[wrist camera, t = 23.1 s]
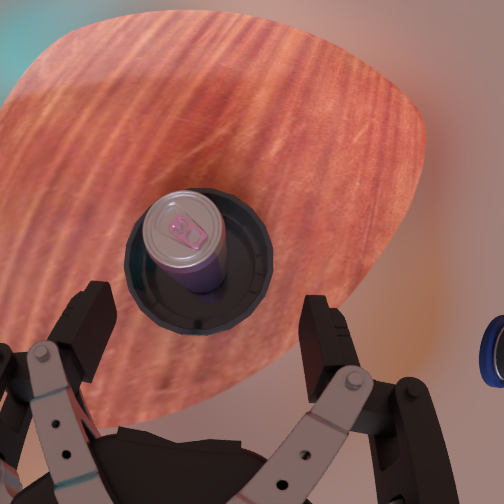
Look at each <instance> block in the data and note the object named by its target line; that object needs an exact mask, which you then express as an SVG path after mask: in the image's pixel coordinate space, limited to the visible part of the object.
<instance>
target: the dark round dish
mask: <svg viewBox="0 0 504 504" xmlns="http://www.w3.org/2000/svg"><path fill="white" fill-rule="evenodd" d="M185 190H188V191H194V192H198V193H200V194H202V195H204V196H206V197H207V198H209V199H210V200H211V201H212V202H213V203H214V204H215V206H216V207H217V209H218V210H219V211H220V213H221V215H222V217H223V220H224V223H225V231H226V249H227V266H228V268H227V274H226V277H225V279H224V281H223V283H222V284H221V285H220V286H219V287H218V288H216V289H215V290H213V291H211V292H208V293H201V294H200V293H194V292H191V291H189V290H187V289H186V288H184V287H183V286H182V285H181V284H179V283H178V282H177V281H176V280H175V279H174V278H172V277H171V276H170V275H169V274H168V273H167V272H165V271H164V270H163V269H162V268H161V267H160V266H158V265H157V264H156V263H155V262H154V261H153V260H152V258H151V257H150V255H149V254H148V252H147V249H146V246H145V243H144V239H143V224H144V220H145V217H146V215H147V213H148V211H149V209H150V208H151V207H152V205H151V206H150V207H149V208H148V209H147V210H146V211H145V213H144V214H143V215H142V216H141V217H140V218H139V220H138V221H137V222H136V223H135V225H134V227H133V230H132V232H131V234H130V237H129V239H128V241H127V244H126V251H125V260H124V271H125V276H126V280H127V285H128V289H129V291H130V293H131V295H132V296H133V298H134V300H135V302H136V303H137V305H138V307H139V308H140V310H141V311H142V312H143V313H144V314H146V315H147V316H148V317H149V318H150V319H151V320H153V321H154V322H155V323H156V324H157V325H159V326H161V327H163V328H165V329H168V330H170V331H173V332H176V333H178V334H181V335H195V336H208V335H212V334H215V333H219V332H222V331H225V330H229V329H231V328H233V327H234V326H235V325H237V324H238V323H240V322H241V321H243V320H244V319H246V318H247V317H249V316H250V315H251V314H252V313H253V311H254V310H255V309H256V307H257V306H258V305H259V303H260V302H261V301H262V299H263V298H264V297H265V295H266V292H267V289H268V286H269V283H270V280H271V277H272V274H273V247H272V244H271V241H270V238H269V235H268V232H267V229H266V227H265V225H264V224H263V222H262V221H261V220H260V218H259V217H258V216H257V214H256V213H255V212H254V210H253V209H252V208H251V207H249V206H248V205H247V204H245V203H244V202H242V201H241V200H240V199H238V198H237V197H235V196H234V195H231V194H228V193H225V192H222V191H219V190H216V189H212V188H189V189H185Z"/></svg>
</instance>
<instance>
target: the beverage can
mask: <svg viewBox="0 0 504 504" xmlns="http://www.w3.org/2000/svg"><path fill="white" fill-rule="evenodd" d="M143 239H144V243H145V246H146V249H147V252H148V254H149V255H150V257H151V258H152V260H153V261H154V262H155V263H156V264H157V265H158V266H160V267H161V268H162V269H163V270H164V271H165V272H167V273H168V274H169V275H170V276H171V277H172V278H174V279H175V280H176V281H177V282H178V283H179V284H181V285H182V286H183V287H184V288H186V289H187V290H189V291H191V292H194V293H200V294H201V293H208V292H211V291H213V290H215V289H216V288H218V287H219V286H220V285H221V284H222V283H223V281H224V279H225V277H226V274H227V268H228V266H227V249H226V231H225V223H224V220H223V217H222V215H221V213H220V211H219V210H218V209H217V207H216V206H215V204H214V203H213V202H212V201H211V200H210V199H209V198H207V197H206V196H204V195H202V194H200V193H198V192H194V191H188V190H181V191H175V192H171V193H169V194H167V195H165V196H163V197H161V198H160V199H159V200H157V201H156V202H155V203H154V204H153V205H152V207H151V208H150V209H149V211H148V213H147V215H146V217H145V220H144V224H143Z"/></svg>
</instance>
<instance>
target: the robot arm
mask: <svg viewBox="0 0 504 504" xmlns="http://www.w3.org/2000/svg"><path fill="white" fill-rule="evenodd" d="M116 319H117V310H116V306H115V303H114V299H113V295H112V291H111V287H110V284H109V283H108V282H103V281H90V283H89V284H88V286H87V287H86V289H85V291H84V292H83V291H80V292H79V293H78V294H76V295H75V296H74V297H73V298H72V299H71V300H70V302H69V303H68V305H67V307H66V309H65V310H64V311H63V313H62V316H60V318H59V320H58V321H57V323H56V325H55V327H54V328H53V330H52V332H51V333H50V335H49V337H48V339H47V340H44V341H39V342H37V343H35V344H34V345H33V346H32V347H31V348H30V349H29V351H28V352H18V353H13V352H12V350H11V349H10V347H9V346H8V345H7V344H4V343H0V401H1V399H2V396H3V394H4V392H5V391H6V392H7V393H8V394H7V396H6V399H5V401H4V404H3V406H2V409H1V412H0V504H312V503H311V502H310V501H309V500H308V499H307V497H308V496H309V494H310V493H311V491H312V490H313V489H314V487H315V486H316V485H317V483H318V482H319V480H320V479H321V478H322V476H323V475H324V473H325V472H326V470H327V469H328V467H329V466H330V464H331V463H332V461H333V459H334V458H335V456H336V455H337V453H338V451H339V450H340V448H341V447H342V445H343V443H344V442H345V440H346V438H347V437H348V435H349V431H354V432H359V433H364V434H368V437H369V443H370V449H371V456H372V462H373V469H374V476H375V484H376V492H377V500H378V504H459V499H458V494H457V490H456V485H455V481H454V476H453V472H452V468H451V464H450V460H449V456H448V452H447V449H446V445H445V441H444V438H443V434H442V431H441V428H440V424H439V421H438V418H437V415H436V411H435V408H434V405H433V402H432V399H431V396H430V393H429V391H428V388H427V387H426V385H425V384H424V383H423V382H422V381H420V380H419V379H417V378H414V377H404V378H402V379H400V380H399V381H398V383H397V384H396V385H395V384H390V383H385V382H380V381H376V380H373V379H372V377H371V375H370V374H369V373H368V372H367V371H366V370H365V369H363V368H361V366H360V363H359V360H358V357H357V354H356V351H355V347H354V344H353V341H352V338H351V337H350V332H349V329H348V326H347V323H346V320H345V317H344V316H343V315H342V314H341V312H340V311H339V310H338V309H337V308H329V306H328V303H327V300H326V297H325V295H306V296H305V299H304V304H303V308H302V313H301V317H300V321H299V330H298V333H299V342H300V348H301V354H302V360H303V367H304V373H305V380H306V387H307V393H308V400H309V403H315V404H314V406H313V407H312V409H311V410H310V411H309V412H306V413H305V415H304V416H303V417H302V418H301V420H300V421H299V422H298V424H297V425H296V426H295V427H294V429H293V430H292V431H291V433H290V434H289V435H288V436H287V438H286V439H285V440H284V441H283V443H282V444H281V445H280V446H279V448H278V449H277V450H276V451H275V452H274V454H273V455H272V456H271V457H270V458H269V459H268V460H267V459H266V458H264V457H263V456H261V455H259V454H257V453H255V452H252V451H250V450H247V449H243V448H241V441H231V440H214V439H208V440H201V441H192V442H184V443H175V442H172V441H169V440H166V439H164V438H161V437H159V436H156V435H154V434H151V433H149V432H146V431H140V430H135V429H129V428H124V427H120V426H119V428H118V432H117V434H111V435H106V436H102V437H101V435H100V433H99V432H98V430H97V428H96V426H95V424H94V422H93V420H92V417H91V415H90V412H89V410H88V407H87V405H86V402H85V400H84V397H83V394H82V392H81V389H80V388H79V387H80V385H81V382H82V381H83V382H87V383H92V380H93V378H94V375H95V372H96V370H97V367H98V365H99V362H100V360H101V357H102V355H103V352H104V350H105V347H106V345H107V343H108V340H109V338H110V335H111V333H112V331H113V328H114V326H115V324H116ZM492 367H493V371H494V373H495V375H496V377H497V378H498V379H500V382H501V385H504V325H503V326H502V327H501V328H500V330H499V331H498V333H497V335H496V337H495V340H494V344H493V349H492ZM32 416H33V419H34V422H35V427H36V430H37V434H38V437H39V441H40V444H41V447H42V451H43V453H44V457H45V460H46V463H47V466H48V468H49V472H48V473H46V474H45V475H43V476H42V477H40V478H39V479H38V480H36V481H35V482H33V483H32V484H30V485H29V486H27V487H26V488H24V489H23V490H22V484H21V483H20V479H19V475H18V473H17V471H16V470H17V467H18V463H19V459H20V455H21V452H22V448H23V445H24V441H25V438H26V434H27V431H28V428H29V425H30V422H31V419H32Z"/></svg>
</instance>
